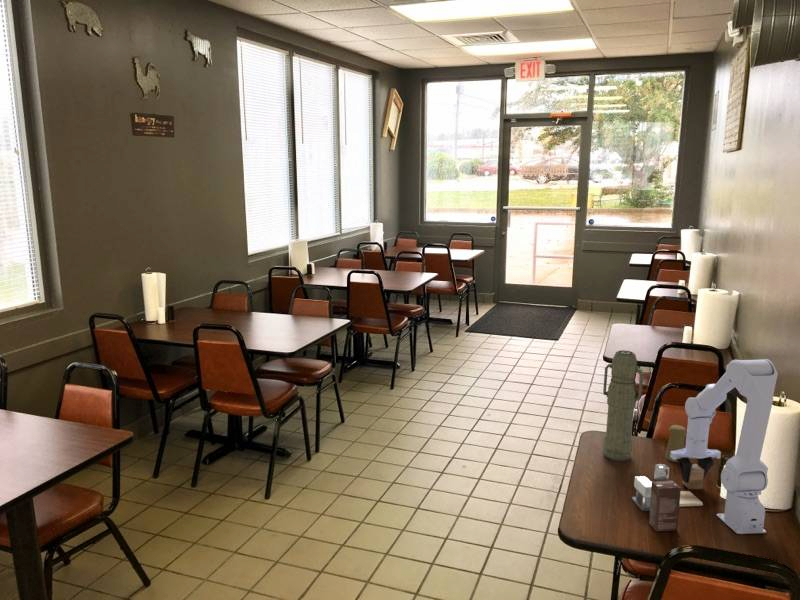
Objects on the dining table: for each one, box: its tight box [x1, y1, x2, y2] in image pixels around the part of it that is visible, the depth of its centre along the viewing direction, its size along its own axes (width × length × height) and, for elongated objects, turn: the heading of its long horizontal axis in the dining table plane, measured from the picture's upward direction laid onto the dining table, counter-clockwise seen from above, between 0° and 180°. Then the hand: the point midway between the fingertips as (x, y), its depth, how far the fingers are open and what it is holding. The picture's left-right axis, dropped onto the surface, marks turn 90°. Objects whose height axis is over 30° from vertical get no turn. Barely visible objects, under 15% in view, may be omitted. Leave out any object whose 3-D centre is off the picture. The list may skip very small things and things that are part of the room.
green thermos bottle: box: [602, 349, 645, 462], centre depth 207 cm, size 9×12×35 cm
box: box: [648, 480, 682, 532], centre depth 165 cm, size 6×4×12 cm
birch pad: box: [679, 490, 704, 508], centre depth 181 cm, size 7×7×1 cm
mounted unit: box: [631, 475, 652, 512], centre depth 177 cm, size 6×4×7 cm, turn 5°
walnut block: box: [681, 463, 705, 490], centre depth 189 cm, size 4×4×6 cm
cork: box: [664, 424, 687, 463], centre depth 208 cm, size 6×6×11 cm
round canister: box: [653, 463, 670, 481], centre depth 193 cm, size 4×4×4 cm
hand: (692, 480), depth 189 cm, fingers closed on walnut block, 4 cm apart
